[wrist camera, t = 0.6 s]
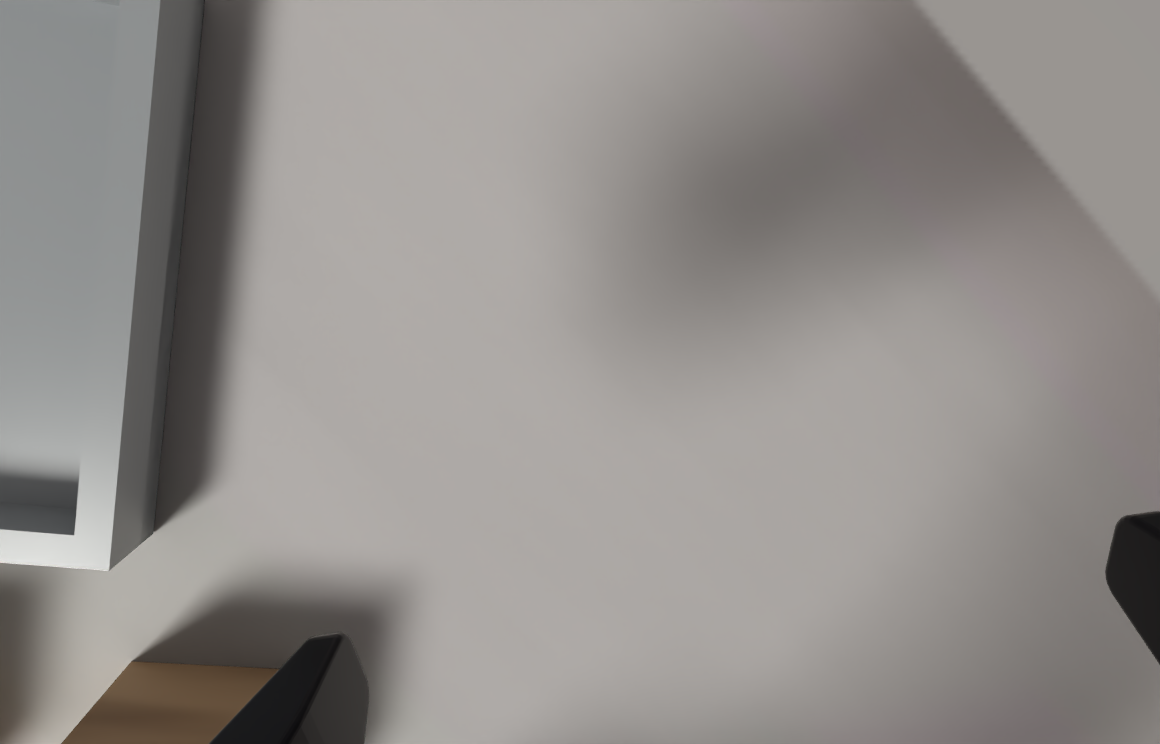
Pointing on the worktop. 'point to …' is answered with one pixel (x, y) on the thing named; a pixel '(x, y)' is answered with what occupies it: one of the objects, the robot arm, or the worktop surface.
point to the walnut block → (169, 704)
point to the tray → (89, 267)
